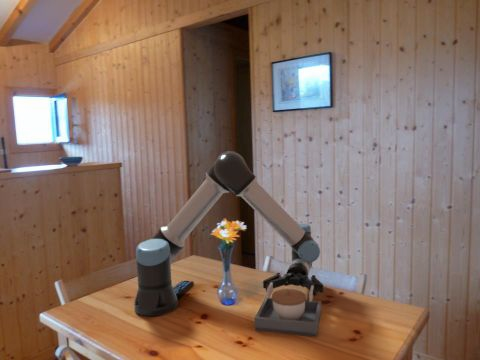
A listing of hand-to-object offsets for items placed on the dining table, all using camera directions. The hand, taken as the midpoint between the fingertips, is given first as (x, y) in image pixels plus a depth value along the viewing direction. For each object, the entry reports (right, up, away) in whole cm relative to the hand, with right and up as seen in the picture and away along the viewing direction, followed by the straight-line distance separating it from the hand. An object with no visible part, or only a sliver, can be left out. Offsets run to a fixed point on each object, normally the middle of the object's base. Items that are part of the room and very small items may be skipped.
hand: (288, 295), depth 124 cm
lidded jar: (0, -8, +2) cm, 8 cm away
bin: (+1, -9, +2) cm, 9 cm away
